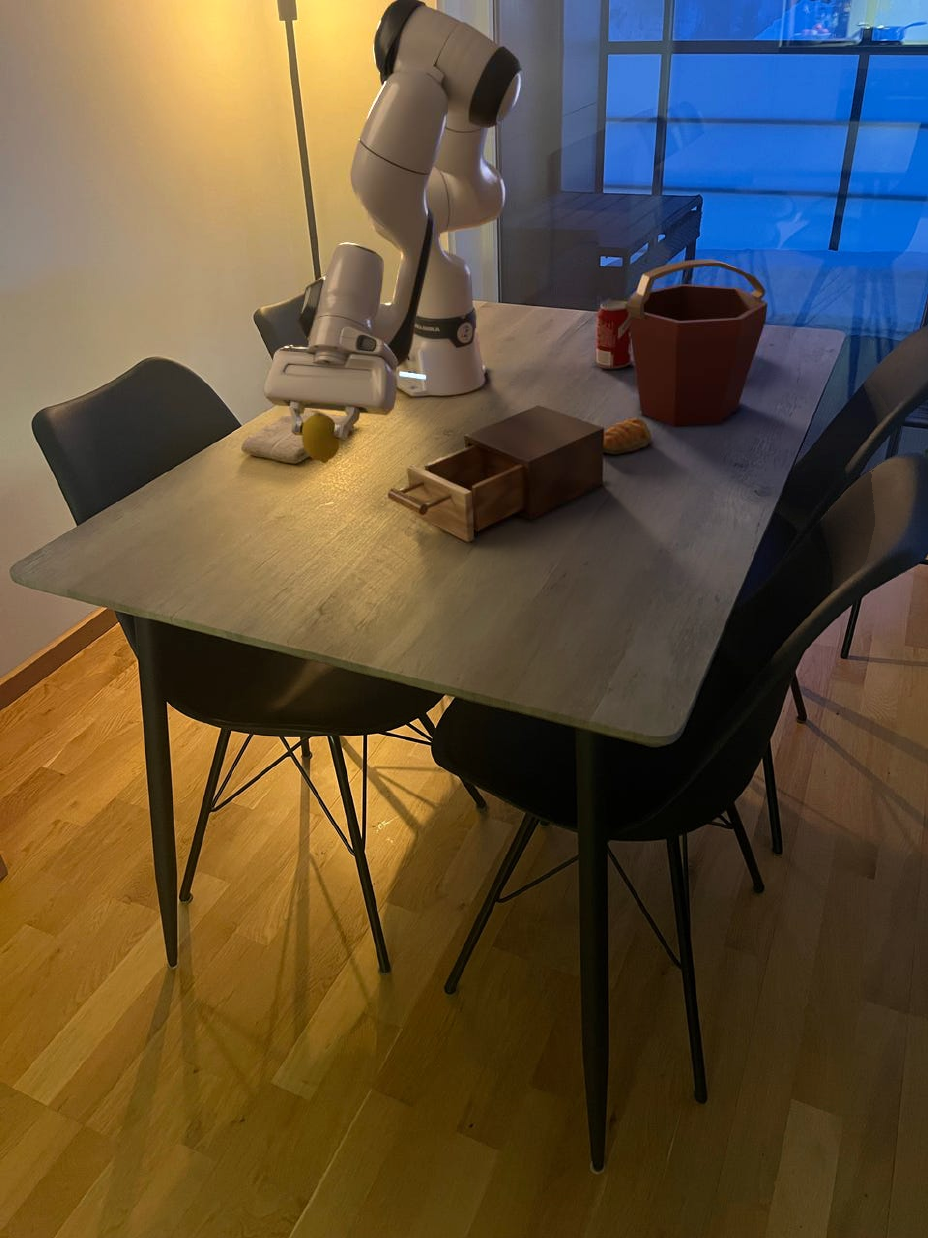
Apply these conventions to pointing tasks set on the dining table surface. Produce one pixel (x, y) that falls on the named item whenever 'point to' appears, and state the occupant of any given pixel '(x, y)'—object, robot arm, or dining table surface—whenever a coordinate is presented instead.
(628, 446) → the pastry
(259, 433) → the washcloth
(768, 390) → the dining table surface
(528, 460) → the cabinet
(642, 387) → the bucket
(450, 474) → the drawer
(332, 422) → the lemon
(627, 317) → the soda can
